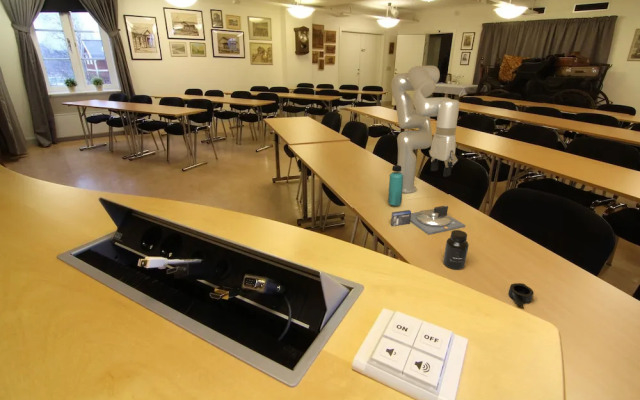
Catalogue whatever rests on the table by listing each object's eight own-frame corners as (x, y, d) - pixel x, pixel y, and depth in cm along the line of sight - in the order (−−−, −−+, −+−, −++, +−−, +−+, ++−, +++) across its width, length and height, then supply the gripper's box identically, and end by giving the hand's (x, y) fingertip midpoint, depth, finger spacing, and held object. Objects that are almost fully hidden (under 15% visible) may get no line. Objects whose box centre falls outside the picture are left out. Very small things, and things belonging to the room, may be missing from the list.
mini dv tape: (392, 226, 135) (393, 213, 132) (390, 225, 136) (391, 212, 134) (410, 224, 136) (411, 211, 134) (408, 222, 138) (409, 209, 135)
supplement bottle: (453, 272, 104) (459, 240, 99) (438, 261, 110) (443, 230, 105) (469, 267, 107) (475, 235, 102) (453, 257, 112) (458, 226, 108)
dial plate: (403, 216, 143) (403, 214, 142) (436, 210, 148) (436, 208, 148) (428, 234, 127) (428, 232, 127) (464, 227, 133) (465, 224, 132)
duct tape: (495, 294, 94) (497, 286, 93) (519, 285, 98) (521, 277, 97) (519, 311, 88) (522, 303, 86) (544, 301, 91) (546, 292, 90)
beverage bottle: (401, 209, 151) (405, 168, 143) (387, 208, 152) (389, 167, 144) (401, 203, 156) (404, 164, 149) (387, 202, 158) (389, 163, 150)
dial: (429, 229, 129) (431, 217, 127) (409, 215, 141) (410, 204, 139) (457, 223, 133) (459, 211, 131) (435, 210, 146) (437, 199, 143)
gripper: (424, 128, 136) (420, 168, 142) (453, 136, 120) (446, 180, 127) (439, 127, 138) (434, 166, 145) (469, 134, 123) (462, 178, 130)
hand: (440, 173), depth 136 cm, fingers open, 7 cm apart
